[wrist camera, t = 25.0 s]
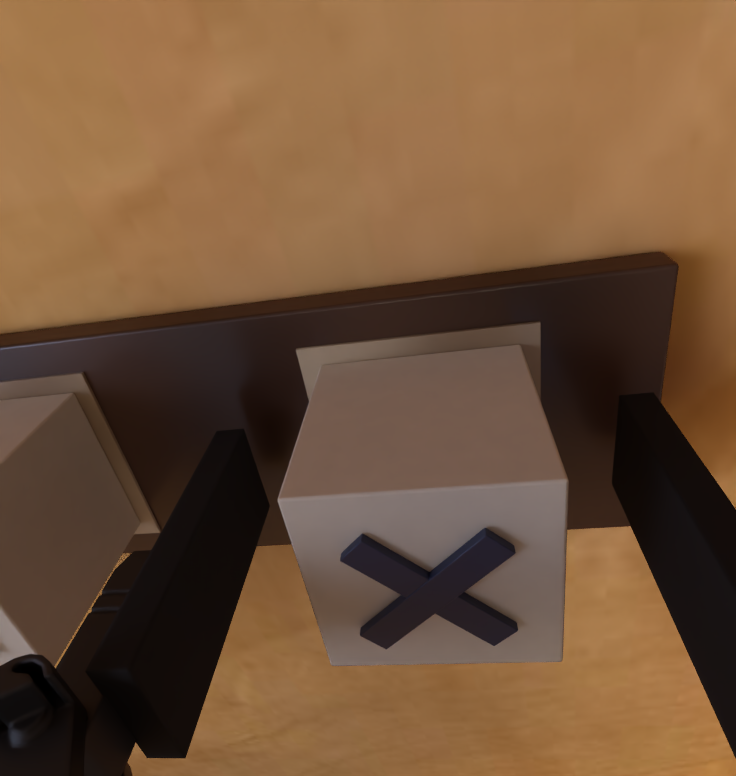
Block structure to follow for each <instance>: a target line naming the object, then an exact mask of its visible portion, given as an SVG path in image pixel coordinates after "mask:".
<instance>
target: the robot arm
mask: <svg viewBox="0 0 736 776" xmlns="http://www.w3.org/2000/svg"><path fill="white" fill-rule="evenodd" d="M612 486H613V488H614V490H615V492H616V495H617V497H618V499H619V501H620V503H621V506H622V508H623V510H624V512H625V514H626V517H627V519H628V521H629V523H630V526H631V528H632V530H633V532H634V534H635V537H636V539H637V541H638V543H639V545H640V548H641V550H642V552H643V554H644V557H645V559H646V561H647V563H648V565H649V568H650V570H651V572H652V574H653V576H654V579H655V581H656V583H657V585H658V588H659V590H660V592H661V594H662V596H663V599H664V601H665V603H666V605H667V607H668V610H669V612H670V614H671V616H672V618H673V621H674V623H675V625H676V627H677V630H678V632H679V634H680V636H681V638H682V641H683V643H684V645H685V647H686V649H687V652H688V654H689V656H690V658H691V661H692V663H693V665H694V667H695V669H696V672H697V674H698V676H699V678H700V680H701V683H702V685H703V687H704V689H705V691H706V694H707V696H708V698H709V700H710V703H711V705H712V707H713V709H714V711H715V714H716V716H717V718H718V720H719V722H720V725H721V727H722V729H723V731H724V734H725V736H726V738H727V740H728V742H729V745H730V747H731V749H732V751H733V753H734V756H735V758H736V509H735V508H734V506H733V505H732V503H731V502H730V500H729V499H728V498H727V496H726V495H725V493H724V492H723V491H722V489H721V488H720V486H719V485H718V483H717V482H716V481H715V479H714V478H713V476H712V475H711V473H710V472H709V471H708V469H707V468H706V466H705V465H704V463H703V462H702V461H701V459H700V458H699V456H698V455H697V453H696V452H695V451H694V449H693V448H692V446H691V445H690V444H689V442H688V441H687V439H686V438H685V436H684V435H683V434H682V432H681V431H680V429H679V428H678V426H677V425H676V424H675V422H674V421H673V419H672V418H671V416H670V415H669V414H668V412H667V411H666V409H665V408H664V407H663V405H662V404H661V402H660V401H659V399H658V398H657V397H656V395H655V394H654V392H650V393H639V394H628V395H619V403H618V415H617V426H616V438H615V450H614V461H613V473H612ZM269 508H270V504H269V501H268V498H267V495H266V493H265V490H264V487H263V484H262V481H261V478H260V475H259V472H258V469H257V466H256V463H255V460H254V457H253V454H252V451H251V448H250V445H249V442H248V439H247V436H246V433H245V431H244V429H234V430H222V431H216V433H215V435H214V437H213V438H212V440H211V442H210V444H209V446H208V448H207V449H206V451H205V453H204V455H203V457H202V458H201V460H200V462H199V464H198V466H197V468H196V469H195V471H194V473H193V475H192V477H191V479H190V480H189V482H188V484H187V486H186V488H185V490H184V491H183V493H182V495H181V497H180V499H179V500H178V502H177V504H176V506H175V508H174V510H173V511H172V513H171V515H170V517H169V519H168V521H167V522H166V524H165V526H164V528H163V530H162V531H161V533H160V535H159V537H158V539H157V541H156V542H155V544H154V546H153V548H152V550H143V551H134V552H133V553H132V554H131V555H130V556H129V557H128V558H127V559H126V560H125V561H123V562H122V563H121V564H120V565H119V566H118V567H117V568H116V569H115V570H114V572H113V574H112V575H111V577H110V579H109V580H108V582H107V584H106V585H105V587H104V589H103V590H102V595H99V597H98V599H97V600H96V602H95V604H94V606H93V607H92V612H91V613H89V614H88V616H87V617H86V619H85V621H84V622H83V624H82V626H81V627H80V629H79V631H78V632H77V634H76V636H75V637H74V639H73V641H72V642H71V644H70V646H69V647H68V649H67V651H66V652H65V654H64V656H63V657H62V659H61V661H60V662H59V664H58V666H57V667H56V669H55V667H54V666H53V665H52V663H51V662H50V661H49V660H48V659H46V658H45V657H44V656H43V655H37V654H27V655H24V656H20V657H17V658H14V659H12V660H10V661H8V662H6V663H5V664H3V665H1V666H0V776H132V772H131V768H130V766H129V764H128V763H127V761H128V759H129V757H130V754H131V752H132V749H133V747H134V745H135V742H136V743H137V744H138V746H139V747H140V749H141V750H142V751H143V753H144V754H145V756H146V757H147V758H186V755H187V752H188V749H189V746H190V743H191V740H192V737H193V734H194V731H195V728H196V725H197V722H198V719H199V716H200V713H201V710H202V707H203V704H204V701H205V698H206V695H207V692H208V689H209V686H210V683H211V680H212V677H213V674H214V671H215V668H216V665H217V662H218V660H219V657H220V654H221V651H222V648H223V645H224V642H225V639H226V636H227V633H228V630H229V627H230V624H231V621H232V618H233V615H234V612H235V609H236V606H237V603H238V600H239V597H240V594H241V591H242V588H243V585H244V582H245V579H246V576H247V573H248V570H249V567H250V564H251V561H252V558H253V555H254V552H255V549H256V546H257V543H258V540H259V537H260V534H261V531H262V529H263V526H264V523H265V520H266V517H267V514H268V511H269Z"/></svg>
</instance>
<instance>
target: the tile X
mask: <svg viewBox="0 0 736 776" xmlns="http://www.w3.org/2000/svg"><path fill="white" fill-rule="evenodd" d="M568 484H569V480H568V478H567V475H566V472H565V469H564V466H563V464H562V461H561V458H560V455H559V452H558V449H557V447H556V444H555V441H554V438H553V435H552V432H551V430H550V427H549V424H548V421H547V418H546V415H545V413H544V410H543V407H542V404H541V401H540V398H539V396H538V393H537V390H536V387H535V384H534V381H533V379H532V376H531V373H530V370H529V367H528V364H527V362H526V359H525V356H524V353H523V350H522V347H521V345H510V346H501V347H491V348H482V349H472V350H463V351H453V352H444V353H434V354H425V355H415V356H406V357H396V358H387V359H377V360H368V361H358V362H349V363H339V364H330V365H322V366H321V367H320V370H319V373H318V376H317V379H316V382H315V385H314V388H313V391H312V395H311V398H310V401H309V404H308V407H307V410H306V413H305V416H304V419H303V422H302V425H301V428H300V432H299V435H298V438H297V441H296V444H295V447H294V450H293V453H292V456H291V459H290V462H289V465H288V469H287V472H286V475H285V478H284V481H283V484H282V487H281V490H280V493H279V496H278V504H279V507H280V510H281V513H282V516H283V519H284V522H285V525H286V528H287V531H288V534H289V537H290V540H291V543H292V546H293V550H294V553H295V556H296V559H297V562H298V565H299V568H300V571H301V574H302V577H303V580H304V583H305V586H306V589H307V592H308V595H309V598H310V601H311V604H312V608H313V611H314V614H315V617H316V620H317V623H318V626H319V629H320V632H321V635H322V638H323V641H324V644H325V647H326V650H327V653H328V656H329V659H330V662H331V665H333V666H353V665H409V664H465V663H521V662H561V661H562V659H563V635H564V605H565V575H566V545H567V514H568Z"/></svg>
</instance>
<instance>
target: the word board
mask: <svg viewBox="0 0 736 776" xmlns="http://www.w3.org/2000/svg"><path fill="white" fill-rule="evenodd" d="M677 274H678V264H677V263H676V262H675V261H673V260H672V259H671V258H670V257H668V256H667V255H666V254H665V253H663V252H656V253H648V254H640V255H632V256H624V257H616V258H608V259H600V260H592V261H584V262H577V263H569V264H561V265H553V266H545V267H537V268H529V269H521V270H513V271H505V272H497V273H489V274H481V275H473V276H465V277H457V278H449V279H441V280H433V281H425V282H417V283H410V284H402V285H394V286H386V287H378V288H370V289H362V290H354V291H346V292H338V293H330V294H322V295H314V296H306V297H298V298H290V299H282V300H274V301H266V302H258V303H250V304H243V305H235V306H227V307H219V308H211V309H203V310H195V311H187V312H179V313H171V314H163V315H155V316H147V317H139V318H131V319H123V320H115V321H107V322H99V323H91V324H84V325H76V326H68V327H60V328H52V329H44V330H36V331H28V332H20V333H12V334H4V335H0V400H9V399H18V398H28V397H37V396H47V395H57V394H66V393H74V394H75V396H76V398H77V400H78V402H79V404H80V406H81V408H82V410H83V412H84V414H85V416H86V418H87V419H88V421H89V423H90V425H91V427H92V429H93V431H94V433H95V435H96V437H97V439H98V441H99V443H100V445H101V447H102V449H103V451H104V453H105V455H106V457H107V459H108V461H109V462H110V464H111V466H112V468H113V470H114V472H115V474H116V476H117V478H118V480H119V482H120V484H121V486H122V488H123V490H124V492H125V494H126V496H127V498H128V500H129V502H130V503H131V505H132V507H133V509H134V511H135V513H136V515H137V517H138V519H139V521H140V525H139V527H138V528H137V530H136V532H135V533H134V535H133V537H132V538H131V540H130V542H129V543H128V545H127V547H126V548H125V550H124V552H123V553H133V552H134V551H143V550H152V548H153V546H154V544H155V542H156V541H157V539H158V537H159V535H160V533H161V531H162V530H163V528H164V526H165V524H166V522H167V521H168V519H169V517H170V515H171V513H172V511H173V510H174V508H175V506H176V504H177V502H178V500H179V499H180V497H181V495H182V493H183V491H184V490H185V488H186V486H187V484H188V482H189V480H190V479H191V477H192V475H193V473H194V471H195V469H196V468H197V466H198V464H199V462H200V460H201V458H202V457H203V455H204V453H205V451H206V449H207V448H208V446H209V444H210V442H211V440H212V438H213V437H214V435H215V433H216V431H222V430H234V429H244V431H245V433H246V436H247V439H248V442H249V445H250V448H251V451H252V454H253V457H254V460H255V463H256V466H257V469H258V472H259V475H260V478H261V481H262V484H263V487H264V490H265V493H266V495H267V498H268V501H269V504H270V508H269V511H268V514H267V517H266V520H265V523H264V526H263V529H262V531H261V534H260V537H259V540H258V543H257V546H269V545H288V544H292V543H291V540H290V537H289V534H288V531H287V528H286V525H285V522H284V519H283V516H282V513H281V510H280V507H279V504H278V496H279V493H280V490H281V487H282V484H283V481H284V478H285V475H286V472H287V469H288V465H289V462H290V459H291V456H292V453H293V450H294V447H295V444H296V441H297V438H298V435H299V432H300V428H301V425H302V422H303V419H304V416H305V413H306V410H307V407H308V404H309V401H310V398H311V395H312V391H313V388H314V385H315V382H316V379H317V376H318V373H319V370H320V367H321V366H322V365H330V364H339V363H349V362H358V361H368V360H377V359H387V358H396V357H406V356H415V355H425V354H434V353H444V352H453V351H463V350H472V349H482V348H491V347H501V346H510V345H521V347H522V350H523V353H524V356H525V359H526V362H527V364H528V367H529V370H530V373H531V376H532V379H533V381H534V384H535V387H536V390H537V393H538V396H539V398H540V401H541V404H542V407H543V410H544V413H545V415H546V418H547V421H548V424H549V427H550V430H551V432H552V435H553V438H554V441H555V444H556V447H557V449H558V452H559V455H560V458H561V461H562V464H563V466H564V469H565V472H566V475H567V478H568V480H569V484H568V514H567V529H586V528H605V527H623V526H630V523H629V521H628V519H627V517H626V514H625V512H624V510H623V508H622V506H621V503H620V501H619V499H618V497H617V495H616V492H615V490H614V488H613V486H612V473H613V461H614V450H615V438H616V426H617V415H618V403H619V395H628V394H639V393H650V392H654V394H655V395H656V397H657V398H658V399H659V401H660V402H661V395H662V388H663V380H664V373H665V365H666V358H667V350H668V342H669V335H670V327H671V320H672V312H673V305H674V297H675V290H676V282H677Z"/></svg>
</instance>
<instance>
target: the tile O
mask: <svg viewBox="0 0 736 776" xmlns="http://www.w3.org/2000/svg"><path fill="white" fill-rule="evenodd" d="M139 525H140V521H139V519H138V517H137V515H136V513H135V511H134V509H133V507H132V505H131V503H130V502H129V500H128V498H127V496H126V494H125V492H124V490H123V488H122V486H121V484H120V482H119V480H118V478H117V476H116V474H115V472H114V470H113V468H112V466H111V464H110V462H109V461H108V459H107V457H106V455H105V453H104V451H103V449H102V447H101V445H100V443H99V441H98V439H97V437H96V435H95V433H94V431H93V429H92V427H91V425H90V423H89V421H88V419H87V418H86V416H85V414H84V412H83V410H82V408H81V406H80V404H79V402H78V400H77V398H76V396H75V394H74V393H66V394H57V395H47V396H37V397H28V398H18V399H9V400H0V666H1V665H3V664H5V663H6V662H8V661H10V660H12V659H14V658H17V657H20V656H24V655H27V654H37V655H43V656H44V657H45V658H46V659H48V660H49V661H50V662H51V663H52V665H53V666H55V664H56V663H57V661H58V659H59V658H60V656H61V654H62V653H63V651H64V649H65V648H66V646H67V644H68V643H69V641H70V639H71V638H72V636H73V634H74V633H75V631H76V630H77V628H78V626H79V625H80V623H81V621H82V620H83V618H84V616H85V615H86V613H87V611H88V610H89V608H90V606H91V605H92V603H93V601H94V600H95V598H96V596H97V595H98V593H99V591H100V590H101V588H102V586H103V585H104V583H105V581H106V580H107V578H108V576H109V575H110V573H111V571H112V570H113V568H114V566H115V565H116V563H117V562H118V560H119V558H120V557H121V555H122V553H123V552H124V550H125V548H126V547H127V545H128V543H129V542H130V540H131V538H132V537H133V535H134V533H135V532H136V530H137V528H138V527H139Z"/></svg>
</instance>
